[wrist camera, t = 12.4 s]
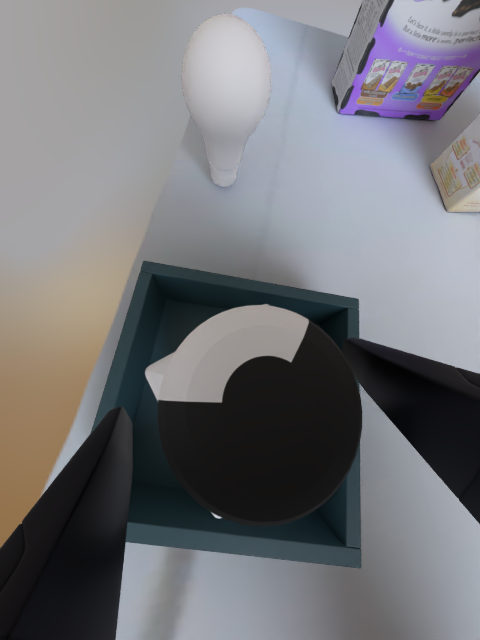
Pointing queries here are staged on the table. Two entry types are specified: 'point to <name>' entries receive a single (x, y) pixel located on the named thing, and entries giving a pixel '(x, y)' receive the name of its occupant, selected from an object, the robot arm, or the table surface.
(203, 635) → the table surface
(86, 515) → the robot arm
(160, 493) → the bin
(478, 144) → the coffeecake box
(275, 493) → the medicine bottle
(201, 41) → the lightbulb
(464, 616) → the table surface
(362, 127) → the table surface
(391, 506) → the table surface
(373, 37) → the candy box
